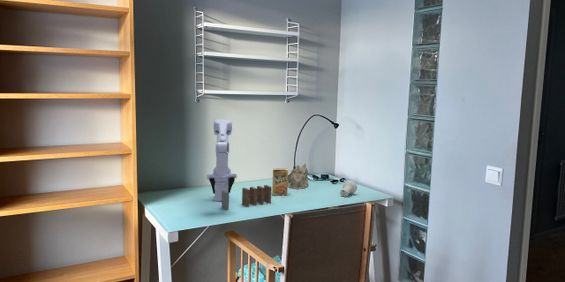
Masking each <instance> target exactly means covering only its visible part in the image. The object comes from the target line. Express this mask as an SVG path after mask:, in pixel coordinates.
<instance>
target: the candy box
mask: <svg viewBox="0 0 565 282" xmlns="http://www.w3.org/2000/svg"><path fill="white" fill-rule="evenodd" d="M288 175H289V169H288V168H278V167H277V168H274V167H273V169H272V185H271V196H285V195H287V196H288V189H289V188H288V178H289V176H288Z"/></svg>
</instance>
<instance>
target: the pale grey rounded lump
mask: <svg viewBox="0 0 565 282" xmlns="http://www.w3.org/2000/svg"><path fill="white" fill-rule="evenodd" d="M357 190H358V185H357V184H356V182H354V181H353V180H351V179H350V180H347V181H345V182H344V183H343V185H342V189H341V190H340V191H339V194H340V197H342V196H343V197H342V198H346V197H348V196H349V195H354V194H355V193H356V192H357Z"/></svg>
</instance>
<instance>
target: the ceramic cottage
mask: <svg viewBox="0 0 565 282" xmlns="http://www.w3.org/2000/svg"><path fill="white" fill-rule="evenodd" d="M308 174H309V171H308V169H307V163H304V164H302V166H300V165H299V164H296V167H295V168H294V169H293V170H292V171H291V172H290V173H288V188H287V189H292V190H302V189H307V188H309V177H308Z"/></svg>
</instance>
